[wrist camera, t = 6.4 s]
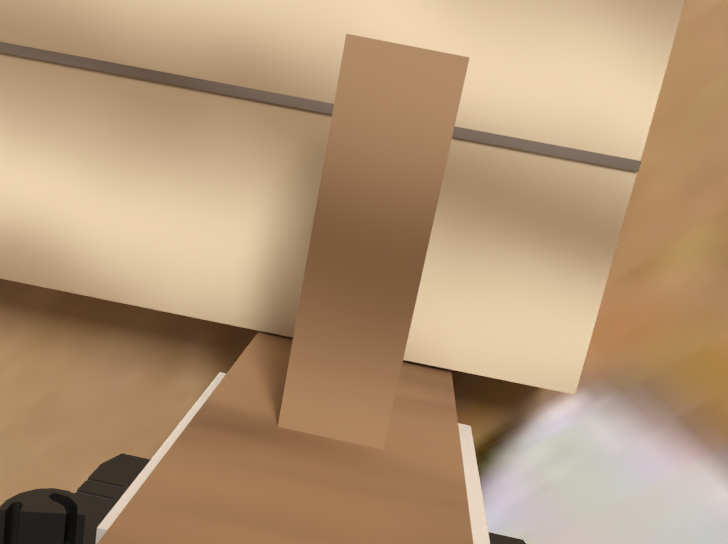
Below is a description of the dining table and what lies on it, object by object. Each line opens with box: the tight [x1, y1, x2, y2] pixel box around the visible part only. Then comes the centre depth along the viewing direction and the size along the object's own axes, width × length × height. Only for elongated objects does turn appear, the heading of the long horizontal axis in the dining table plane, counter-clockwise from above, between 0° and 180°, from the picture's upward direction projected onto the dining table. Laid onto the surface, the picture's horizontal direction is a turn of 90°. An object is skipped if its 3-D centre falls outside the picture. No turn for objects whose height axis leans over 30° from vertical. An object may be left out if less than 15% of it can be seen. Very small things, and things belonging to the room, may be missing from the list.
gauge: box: [97, 34, 473, 544], centre depth 12 cm, size 12×5×12 cm, turn 169°
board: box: [0, 0, 685, 395], centre depth 16 cm, size 10×23×2 cm, turn 80°
